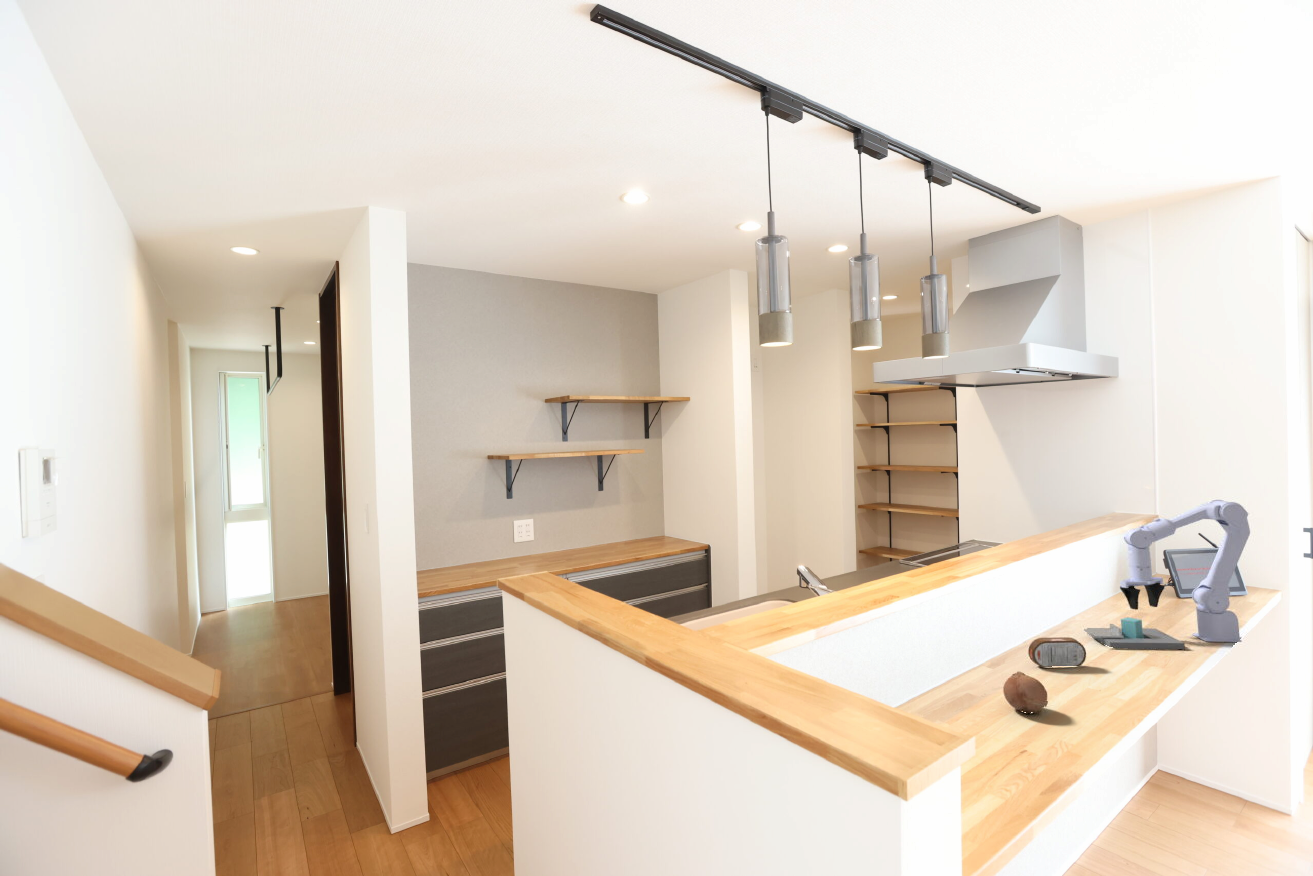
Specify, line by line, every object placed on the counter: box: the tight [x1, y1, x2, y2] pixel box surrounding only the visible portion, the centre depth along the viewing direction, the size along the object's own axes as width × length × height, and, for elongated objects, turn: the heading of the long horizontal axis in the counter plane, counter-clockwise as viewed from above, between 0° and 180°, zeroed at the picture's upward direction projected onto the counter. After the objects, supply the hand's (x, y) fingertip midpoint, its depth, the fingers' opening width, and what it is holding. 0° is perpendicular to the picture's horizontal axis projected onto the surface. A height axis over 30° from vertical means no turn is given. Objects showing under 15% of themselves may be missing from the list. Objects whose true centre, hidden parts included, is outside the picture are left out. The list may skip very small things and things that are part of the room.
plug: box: [1120, 616, 1143, 639], centre depth 202 cm, size 4×4×7 cm
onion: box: [1002, 671, 1049, 714], centre depth 155 cm, size 10×9×10 cm
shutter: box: [1083, 623, 1124, 638], centre depth 203 cm, size 8×8×2 cm
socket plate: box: [1086, 627, 1186, 650], centre depth 202 cm, size 20×16×2 cm
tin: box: [1027, 636, 1087, 668], centre depth 183 cm, size 15×3×8 cm, turn 84°
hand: (1143, 607), depth 206 cm, fingers open, 7 cm apart
